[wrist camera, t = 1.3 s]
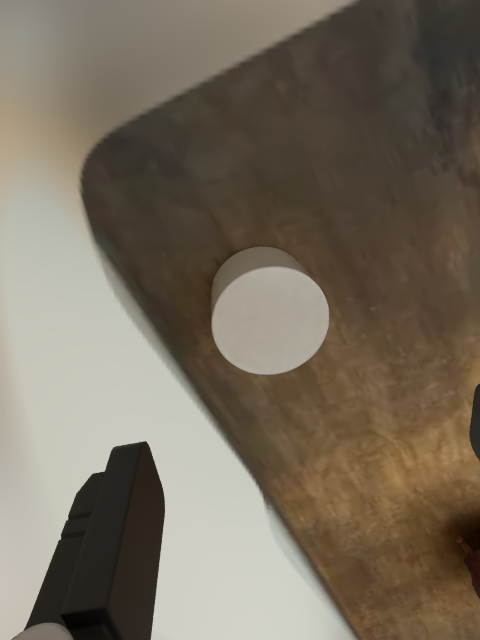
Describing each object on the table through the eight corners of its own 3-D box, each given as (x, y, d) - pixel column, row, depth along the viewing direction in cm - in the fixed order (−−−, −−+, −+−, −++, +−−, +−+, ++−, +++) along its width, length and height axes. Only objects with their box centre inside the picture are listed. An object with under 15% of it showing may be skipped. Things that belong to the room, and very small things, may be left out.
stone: (202, 255, 17) (201, 278, 14) (305, 238, 17) (326, 257, 14) (219, 346, 19) (222, 384, 16) (312, 331, 19) (332, 365, 16)
